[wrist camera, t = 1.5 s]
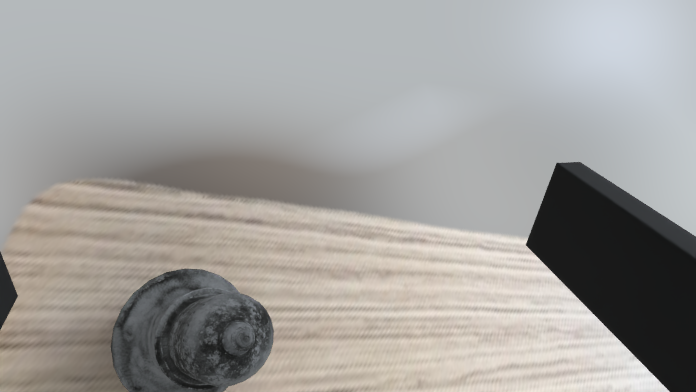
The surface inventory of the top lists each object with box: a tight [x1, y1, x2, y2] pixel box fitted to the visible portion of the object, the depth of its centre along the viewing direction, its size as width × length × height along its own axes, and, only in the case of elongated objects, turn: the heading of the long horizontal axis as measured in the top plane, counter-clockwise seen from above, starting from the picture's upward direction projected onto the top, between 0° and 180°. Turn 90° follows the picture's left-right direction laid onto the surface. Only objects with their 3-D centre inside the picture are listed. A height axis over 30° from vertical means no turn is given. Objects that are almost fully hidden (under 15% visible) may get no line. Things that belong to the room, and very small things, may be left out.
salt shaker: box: [111, 269, 274, 392], centre depth 17 cm, size 6×6×12 cm
